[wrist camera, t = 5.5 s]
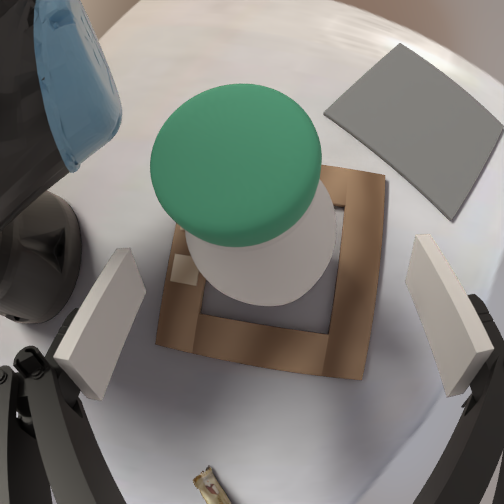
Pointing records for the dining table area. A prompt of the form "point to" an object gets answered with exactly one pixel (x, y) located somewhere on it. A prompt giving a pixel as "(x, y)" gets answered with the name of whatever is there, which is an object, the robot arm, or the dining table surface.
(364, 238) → the wooden frame
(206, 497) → the snack bar
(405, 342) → the dining table surface
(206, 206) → the milk bottle
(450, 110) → the rubber mat
